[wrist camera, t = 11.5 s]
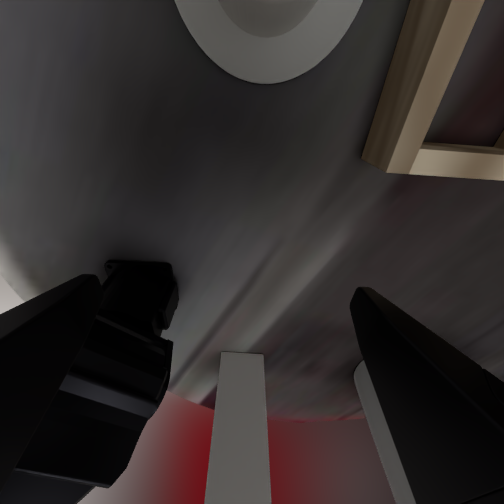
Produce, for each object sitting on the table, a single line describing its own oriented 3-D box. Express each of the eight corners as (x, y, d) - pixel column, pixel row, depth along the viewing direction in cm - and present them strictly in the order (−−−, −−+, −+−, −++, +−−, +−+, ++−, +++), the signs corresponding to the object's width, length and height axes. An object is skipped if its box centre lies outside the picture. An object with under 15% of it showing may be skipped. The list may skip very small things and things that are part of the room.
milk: (263, 353, 33) (284, 681, 14) (257, 376, 36) (267, 665, 18) (220, 350, 32) (184, 687, 14) (218, 374, 35) (187, 670, 17)
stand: (361, 158, 18) (386, 172, 15) (434, -77, 12) (507, -146, 8) (498, 168, 19) (553, 183, 15) (640, -53, 12) (785, -108, 9)
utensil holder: (340, 354, 33) (412, 558, 18) (455, 327, 30) (654, 547, 15) (355, 399, 40) (415, 569, 26) (449, 381, 37) (576, 563, 23)
